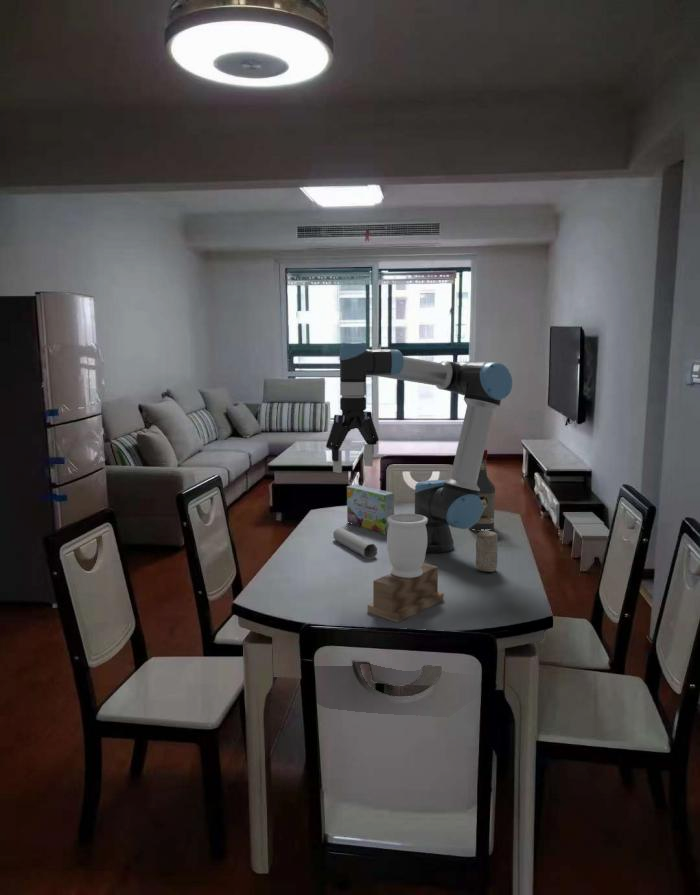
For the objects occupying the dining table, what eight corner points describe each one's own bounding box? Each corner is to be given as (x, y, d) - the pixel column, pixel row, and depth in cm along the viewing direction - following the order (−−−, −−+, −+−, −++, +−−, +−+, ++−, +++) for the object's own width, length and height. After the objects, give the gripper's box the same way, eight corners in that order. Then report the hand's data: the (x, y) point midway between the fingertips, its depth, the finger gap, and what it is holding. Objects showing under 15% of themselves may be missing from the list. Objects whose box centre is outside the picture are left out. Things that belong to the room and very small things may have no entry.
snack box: (346, 523, 260) (345, 485, 258) (356, 521, 264) (356, 483, 262) (384, 534, 245) (384, 494, 243) (395, 531, 249) (395, 492, 246)
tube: (328, 530, 237) (361, 548, 215) (341, 523, 239) (375, 540, 217) (333, 543, 239) (366, 562, 216) (345, 536, 241) (379, 555, 218)
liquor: (466, 524, 258) (468, 448, 253) (490, 525, 257) (492, 448, 253) (470, 531, 249) (471, 451, 244) (494, 531, 248) (497, 451, 244)
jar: (415, 565, 182) (416, 511, 180) (434, 576, 173) (434, 520, 171) (380, 569, 179) (380, 515, 176) (396, 582, 169) (397, 524, 167)
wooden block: (413, 591, 188) (414, 560, 186) (443, 600, 181) (444, 568, 180) (367, 612, 173) (367, 578, 172) (397, 622, 166) (398, 588, 165)
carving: (500, 569, 206) (501, 531, 204) (491, 575, 200) (492, 537, 198) (481, 565, 210) (482, 528, 208) (471, 572, 204) (472, 534, 202)
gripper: (371, 393, 204) (371, 462, 207) (313, 398, 186) (314, 473, 189) (390, 394, 199) (390, 464, 202) (332, 399, 181) (333, 476, 184)
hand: (353, 469), depth 195 cm, fingers open, 13 cm apart
